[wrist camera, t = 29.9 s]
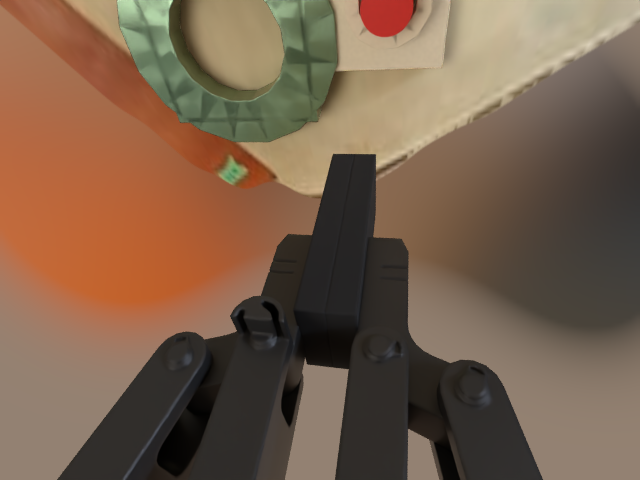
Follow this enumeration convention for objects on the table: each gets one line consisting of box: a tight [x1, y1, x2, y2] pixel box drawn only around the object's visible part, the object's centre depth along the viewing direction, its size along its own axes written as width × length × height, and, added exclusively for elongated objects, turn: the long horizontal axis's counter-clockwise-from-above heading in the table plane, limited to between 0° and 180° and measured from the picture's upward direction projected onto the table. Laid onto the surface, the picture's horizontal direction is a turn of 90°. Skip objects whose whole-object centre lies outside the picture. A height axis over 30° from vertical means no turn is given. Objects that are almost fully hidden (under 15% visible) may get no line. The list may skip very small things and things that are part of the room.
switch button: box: [360, 0, 413, 37], centre depth 30 cm, size 4×4×2 cm
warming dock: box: [117, 0, 338, 142], centre depth 37 cm, size 21×21×2 cm
